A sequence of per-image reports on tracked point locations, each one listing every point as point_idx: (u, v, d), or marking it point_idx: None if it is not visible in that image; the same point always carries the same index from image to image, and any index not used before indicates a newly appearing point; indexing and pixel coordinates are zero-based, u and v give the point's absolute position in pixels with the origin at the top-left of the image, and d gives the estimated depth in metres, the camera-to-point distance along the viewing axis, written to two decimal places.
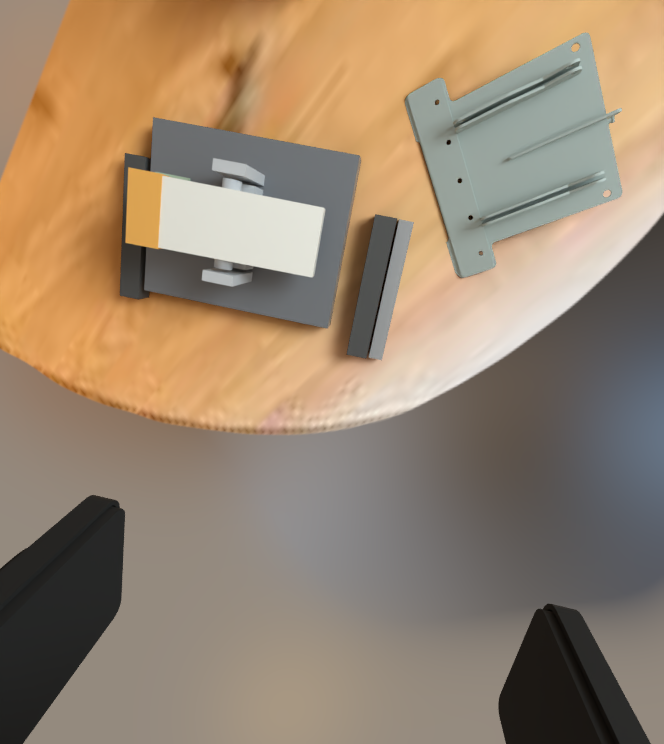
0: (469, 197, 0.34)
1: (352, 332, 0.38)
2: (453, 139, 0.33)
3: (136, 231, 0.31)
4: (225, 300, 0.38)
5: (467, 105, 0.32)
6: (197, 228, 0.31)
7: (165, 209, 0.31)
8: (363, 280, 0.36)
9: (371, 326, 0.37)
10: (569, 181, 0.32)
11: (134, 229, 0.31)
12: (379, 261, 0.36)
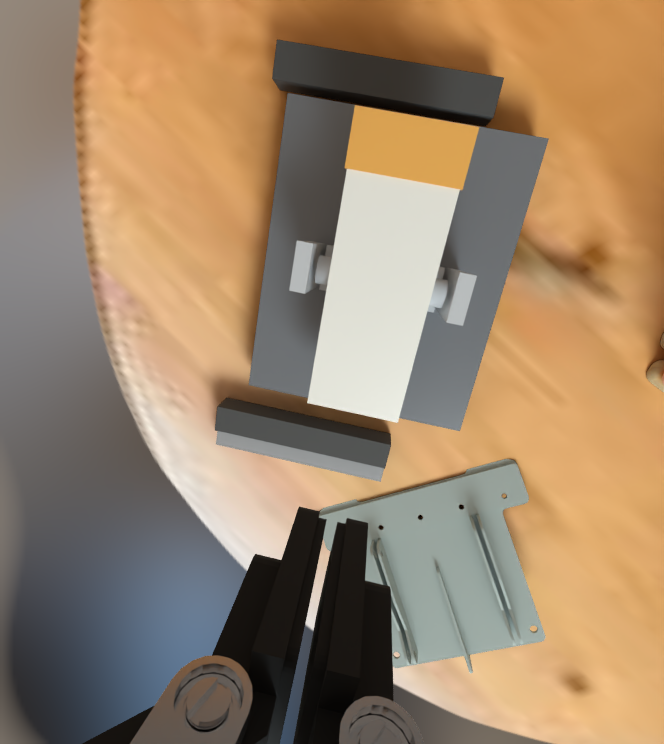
0: (402, 527, 0.31)
1: (246, 414, 0.29)
2: (464, 511, 0.30)
3: (374, 128, 0.18)
4: (277, 239, 0.25)
5: (496, 526, 0.30)
6: (375, 241, 0.20)
7: (407, 189, 0.19)
8: (312, 429, 0.29)
9: (256, 437, 0.29)
10: (410, 622, 0.31)
11: (377, 126, 0.18)
12: (335, 448, 0.29)
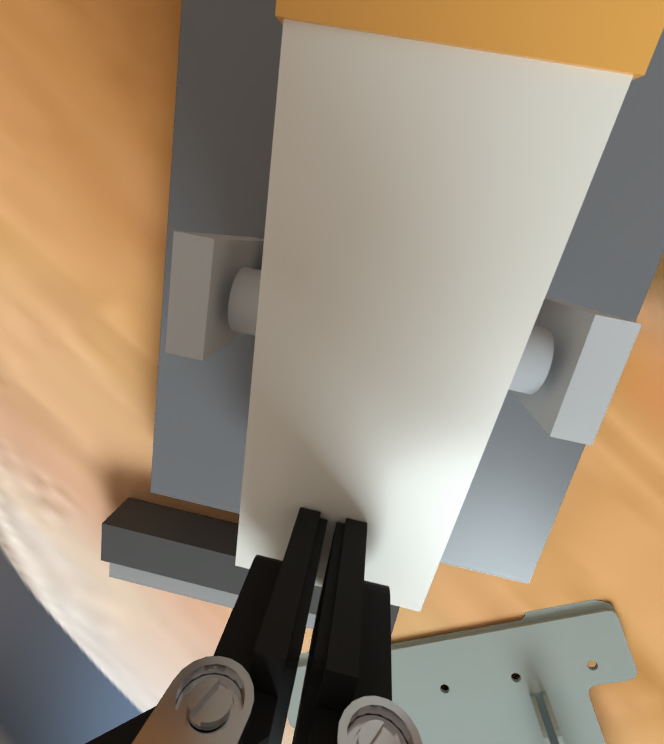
0: (413, 702, 0.19)
1: (151, 538, 0.17)
2: (520, 684, 0.18)
3: None
4: None
5: (576, 715, 0.17)
6: (372, 238, 0.07)
7: (465, 80, 0.06)
8: None
9: (169, 574, 0.17)
10: None
11: None
12: None
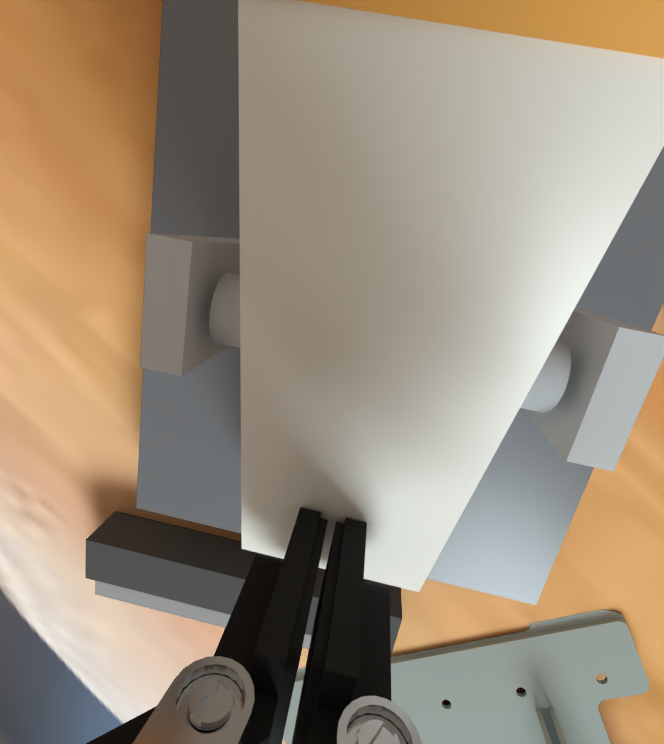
0: (414, 718, 0.18)
1: (137, 555, 0.16)
2: (525, 698, 0.17)
3: None
4: (169, 234, 0.12)
5: (586, 731, 0.16)
6: (363, 262, 0.06)
7: (478, 74, 0.05)
8: None
9: (157, 592, 0.16)
10: None
11: None
12: None
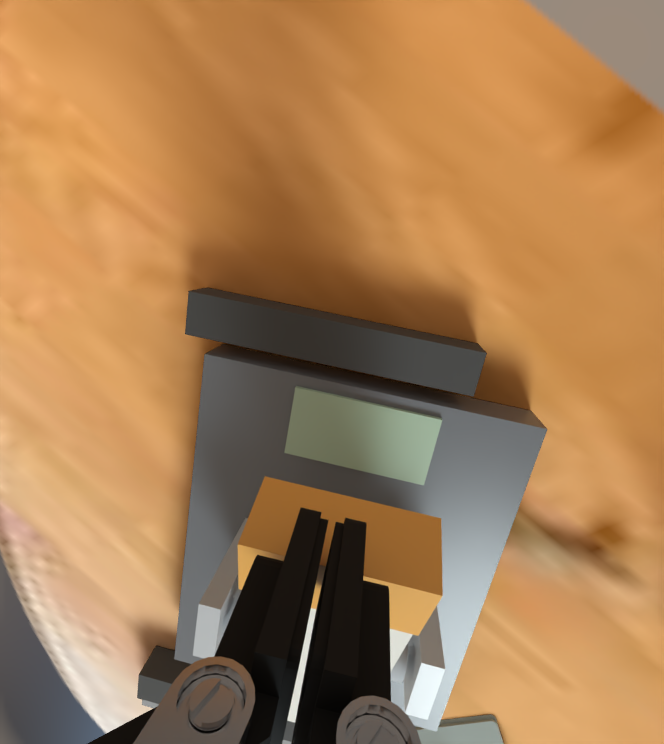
0: None
1: None
2: None
3: None
4: (200, 511, 0.20)
5: None
6: None
7: None
8: None
9: None
10: None
11: None
12: None
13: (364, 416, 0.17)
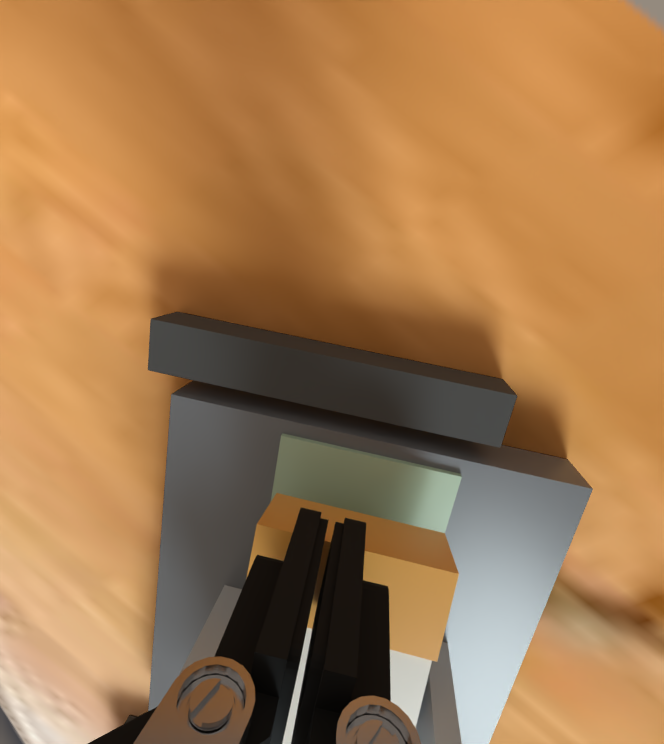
0: None
1: None
2: None
3: None
4: (171, 577, 0.17)
5: None
6: (294, 721, 0.11)
7: None
8: None
9: None
10: None
11: None
12: None
13: (365, 471, 0.14)
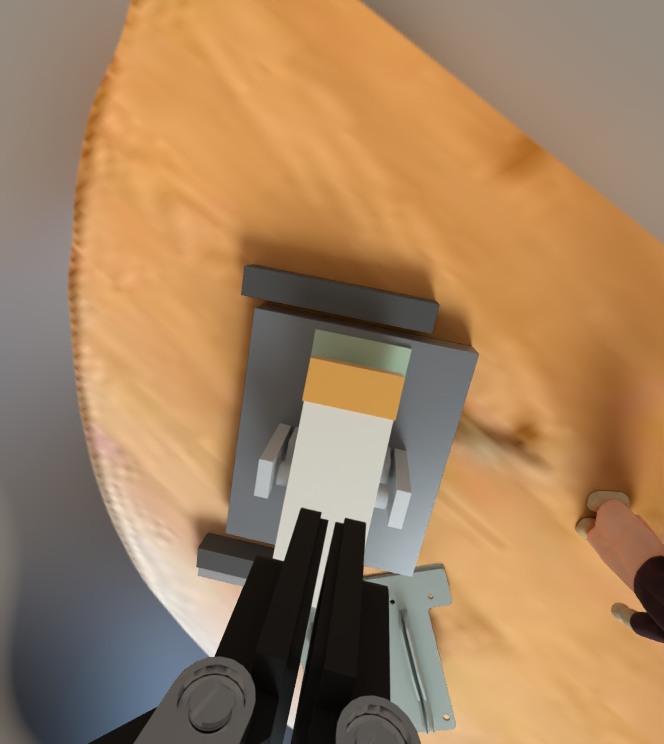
0: None
1: (224, 555, 0.32)
2: (394, 605, 0.33)
3: (325, 373, 0.23)
4: (248, 420, 0.29)
5: (421, 622, 0.33)
6: (327, 456, 0.24)
7: (352, 417, 0.23)
8: None
9: (233, 574, 0.33)
10: None
11: (327, 373, 0.23)
12: None
13: (360, 348, 0.26)
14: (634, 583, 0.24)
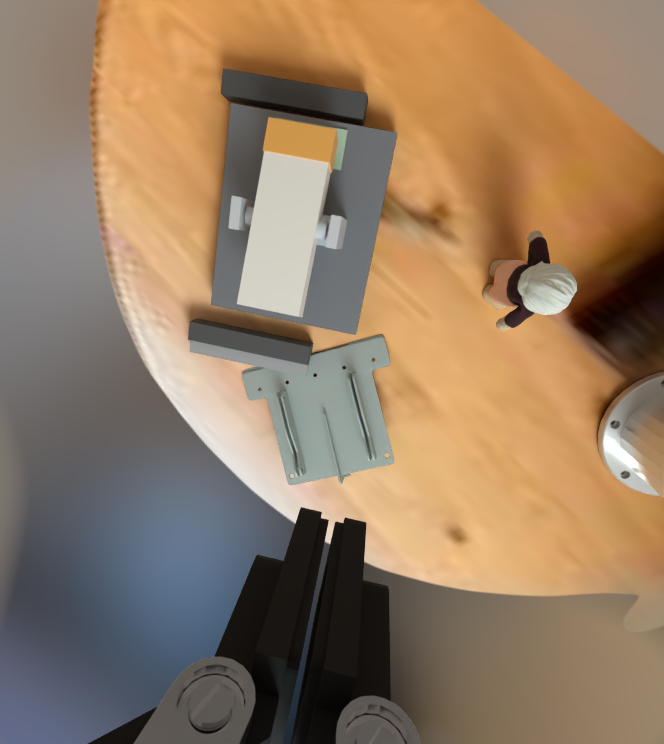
0: (302, 382, 0.43)
1: (210, 327, 0.41)
2: (345, 371, 0.42)
3: (279, 129, 0.32)
4: (227, 201, 0.37)
5: (366, 382, 0.42)
6: (281, 193, 0.32)
7: (298, 162, 0.32)
8: (255, 337, 0.41)
9: (217, 344, 0.42)
10: (303, 452, 0.43)
11: (280, 128, 0.32)
12: (272, 350, 0.41)
13: None
14: (506, 289, 0.33)
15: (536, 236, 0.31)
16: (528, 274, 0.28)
